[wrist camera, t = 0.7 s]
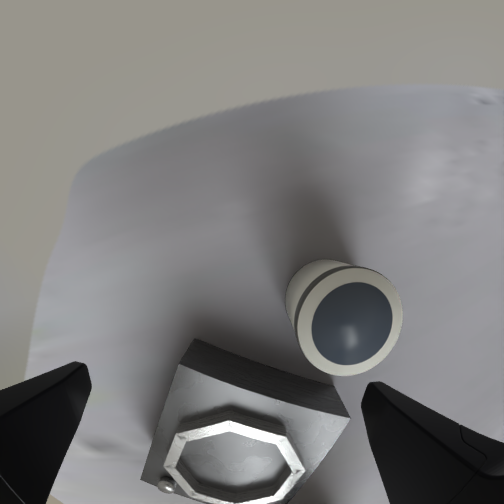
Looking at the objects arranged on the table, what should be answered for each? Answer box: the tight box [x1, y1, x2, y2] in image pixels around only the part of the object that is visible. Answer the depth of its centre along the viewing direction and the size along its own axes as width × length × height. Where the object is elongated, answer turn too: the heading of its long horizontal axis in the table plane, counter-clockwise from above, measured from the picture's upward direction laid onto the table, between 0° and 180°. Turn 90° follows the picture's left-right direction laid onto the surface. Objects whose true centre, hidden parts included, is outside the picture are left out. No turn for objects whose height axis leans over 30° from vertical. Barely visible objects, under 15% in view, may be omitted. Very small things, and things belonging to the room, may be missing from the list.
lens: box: [285, 259, 403, 376], centre depth 18 cm, size 6×6×7 cm
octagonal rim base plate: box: [140, 339, 351, 504], centre depth 19 cm, size 12×13×6 cm
